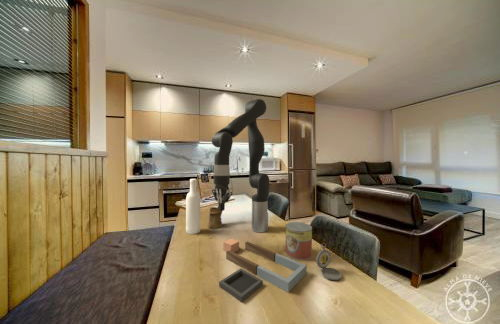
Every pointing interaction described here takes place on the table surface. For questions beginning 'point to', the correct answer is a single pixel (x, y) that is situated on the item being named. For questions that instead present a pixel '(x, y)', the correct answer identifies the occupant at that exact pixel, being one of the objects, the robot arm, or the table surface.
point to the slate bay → (279, 280)
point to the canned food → (298, 240)
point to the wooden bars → (247, 263)
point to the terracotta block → (231, 245)
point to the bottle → (193, 209)
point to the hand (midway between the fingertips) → (221, 210)
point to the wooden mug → (214, 218)
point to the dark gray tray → (241, 284)
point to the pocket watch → (327, 272)
